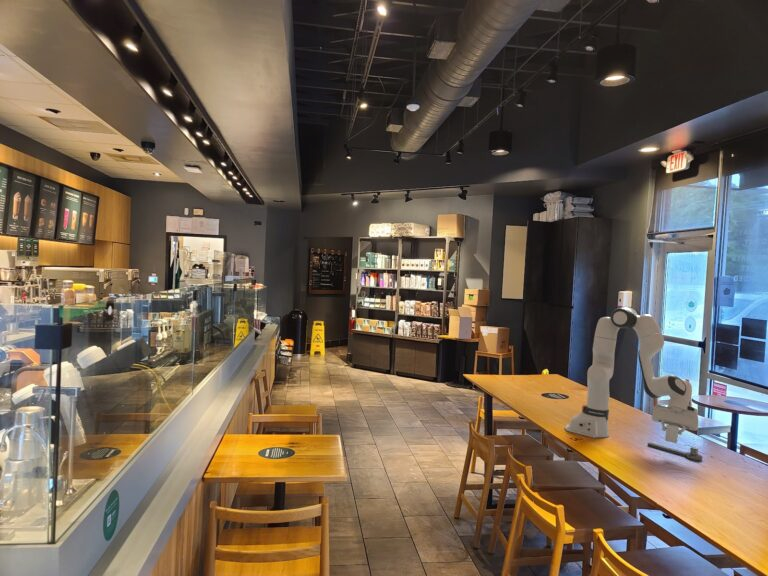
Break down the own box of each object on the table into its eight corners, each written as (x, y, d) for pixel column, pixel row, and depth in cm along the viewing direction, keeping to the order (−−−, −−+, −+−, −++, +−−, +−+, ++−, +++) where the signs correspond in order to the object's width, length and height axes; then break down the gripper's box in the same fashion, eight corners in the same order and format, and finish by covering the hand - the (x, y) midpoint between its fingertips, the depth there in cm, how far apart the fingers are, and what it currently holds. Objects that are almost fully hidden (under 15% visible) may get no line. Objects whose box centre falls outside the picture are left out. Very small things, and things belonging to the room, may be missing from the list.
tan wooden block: (665, 440, 253) (667, 424, 253) (665, 438, 258) (666, 422, 257) (676, 443, 251) (678, 426, 251) (676, 440, 256) (678, 424, 255)
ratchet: (704, 459, 255) (705, 448, 255) (699, 462, 250) (700, 451, 250) (651, 444, 273) (652, 434, 273) (645, 446, 268) (646, 436, 268)
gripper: (654, 400, 265) (647, 422, 258) (700, 410, 253) (695, 434, 246) (655, 407, 269) (648, 429, 262) (701, 417, 257) (695, 441, 249)
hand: (671, 432), depth 254 cm, fingers closed on tan wooden block, 5 cm apart
